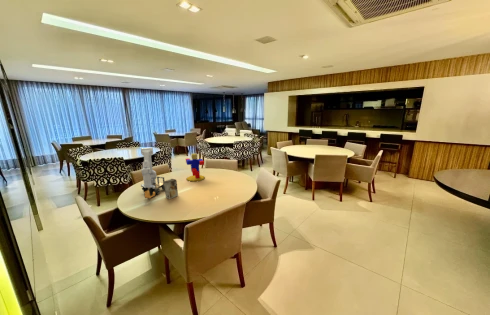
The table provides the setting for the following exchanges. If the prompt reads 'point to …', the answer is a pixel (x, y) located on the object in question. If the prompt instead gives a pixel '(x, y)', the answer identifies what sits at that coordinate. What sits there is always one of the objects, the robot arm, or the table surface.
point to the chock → (149, 194)
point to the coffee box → (171, 188)
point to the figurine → (195, 168)
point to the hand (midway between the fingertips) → (149, 194)
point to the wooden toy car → (158, 186)
